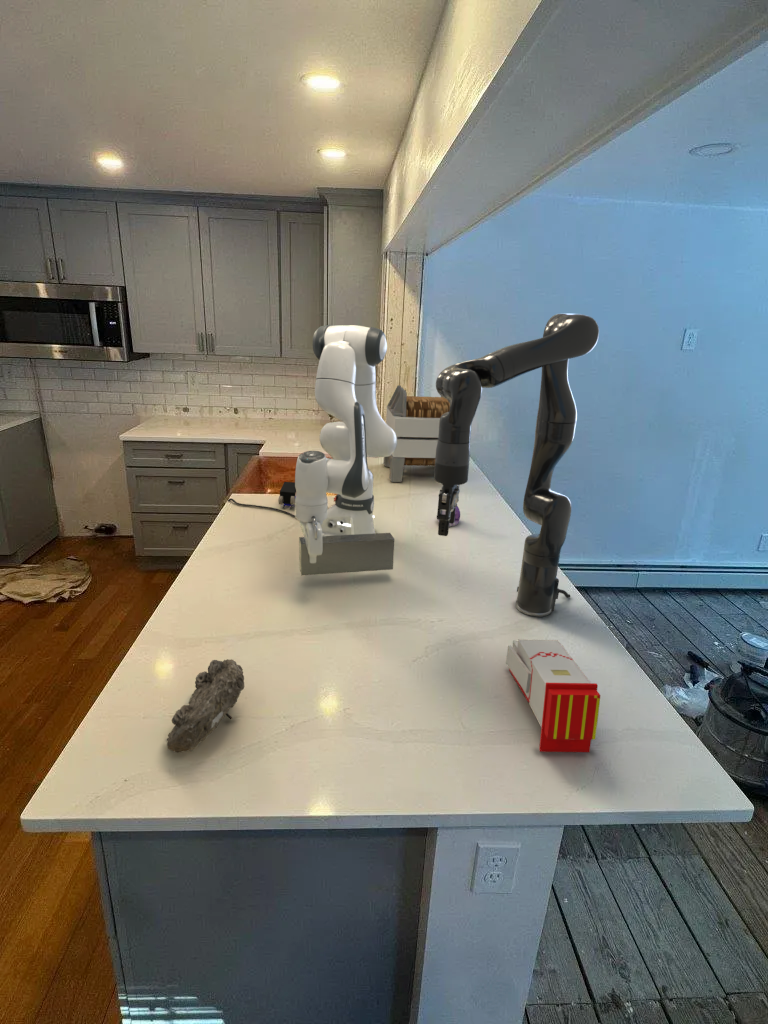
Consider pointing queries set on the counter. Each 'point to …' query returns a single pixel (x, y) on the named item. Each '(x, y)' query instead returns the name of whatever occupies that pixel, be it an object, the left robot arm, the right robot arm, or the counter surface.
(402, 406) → the transformer
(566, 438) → the right robot arm
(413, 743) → the counter surface
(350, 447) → the left robot arm
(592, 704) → the toy
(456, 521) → the figurine
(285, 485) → the figurine character
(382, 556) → the bar
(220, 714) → the fossil
